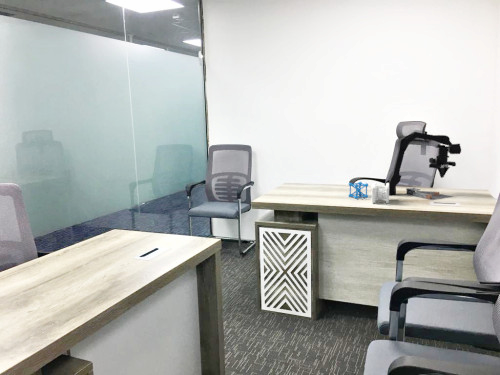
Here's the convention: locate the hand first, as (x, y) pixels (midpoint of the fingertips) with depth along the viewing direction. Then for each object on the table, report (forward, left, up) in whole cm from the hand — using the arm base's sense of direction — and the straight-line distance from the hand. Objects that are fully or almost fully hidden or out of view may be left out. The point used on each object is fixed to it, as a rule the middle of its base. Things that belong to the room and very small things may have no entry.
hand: (441, 177), depth 272 cm
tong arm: (-9, +3, -11) cm, 15 cm away
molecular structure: (-49, +25, -12) cm, 57 cm away
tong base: (-16, +3, -11) cm, 20 cm away
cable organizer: (-47, +6, -12) cm, 49 cm away
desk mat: (-9, +2, -12) cm, 16 cm away
